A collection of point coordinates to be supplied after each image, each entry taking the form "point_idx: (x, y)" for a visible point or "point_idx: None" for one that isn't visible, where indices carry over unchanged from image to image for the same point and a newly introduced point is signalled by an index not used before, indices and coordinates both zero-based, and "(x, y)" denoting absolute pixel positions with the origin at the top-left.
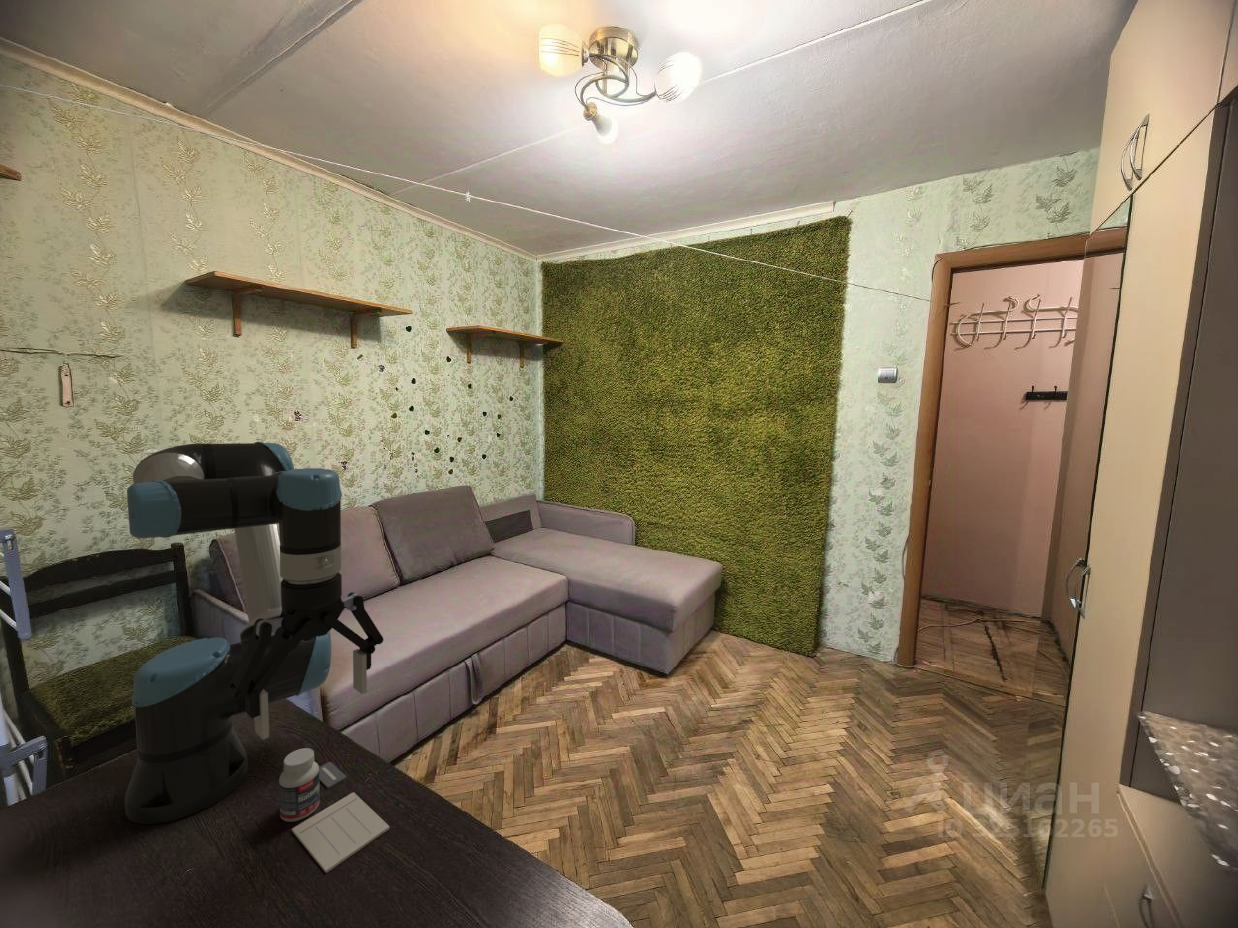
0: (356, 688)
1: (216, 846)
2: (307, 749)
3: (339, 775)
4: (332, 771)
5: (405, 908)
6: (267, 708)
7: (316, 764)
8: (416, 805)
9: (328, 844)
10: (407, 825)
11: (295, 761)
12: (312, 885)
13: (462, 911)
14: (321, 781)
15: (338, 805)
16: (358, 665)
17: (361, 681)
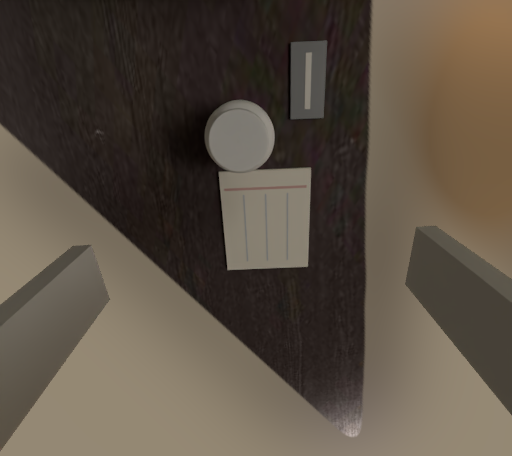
0: (414, 253)
1: (131, 113)
2: (260, 129)
3: (317, 104)
4: (314, 79)
5: (265, 352)
6: (41, 389)
7: (270, 146)
8: (351, 256)
9: (243, 237)
10: (323, 275)
11: (227, 154)
12: (211, 271)
13: (296, 384)
14: (290, 90)
15: (282, 178)
16: (491, 354)
17: (433, 317)
